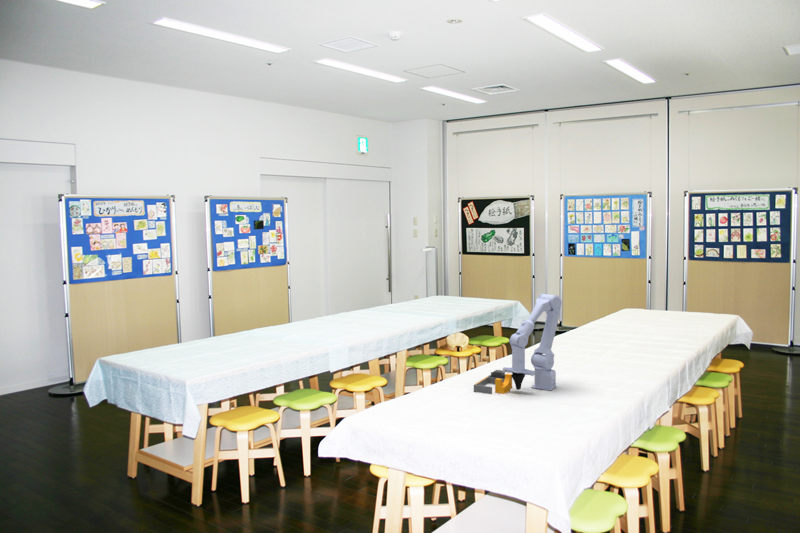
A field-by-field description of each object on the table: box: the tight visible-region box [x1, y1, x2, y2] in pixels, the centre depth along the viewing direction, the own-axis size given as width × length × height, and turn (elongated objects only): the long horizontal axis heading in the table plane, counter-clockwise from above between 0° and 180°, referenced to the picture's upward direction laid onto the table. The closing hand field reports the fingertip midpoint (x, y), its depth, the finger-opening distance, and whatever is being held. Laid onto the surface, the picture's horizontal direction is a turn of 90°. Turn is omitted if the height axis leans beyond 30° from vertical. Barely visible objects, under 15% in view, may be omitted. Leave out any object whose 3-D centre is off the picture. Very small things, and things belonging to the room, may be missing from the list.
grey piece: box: [473, 369, 506, 395], centre depth 279 cm, size 10×24×6 cm, turn 149°
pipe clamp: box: [494, 373, 513, 395], centre depth 273 cm, size 12×4×6 cm, turn 143°
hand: (518, 389), depth 269 cm, fingers closed
